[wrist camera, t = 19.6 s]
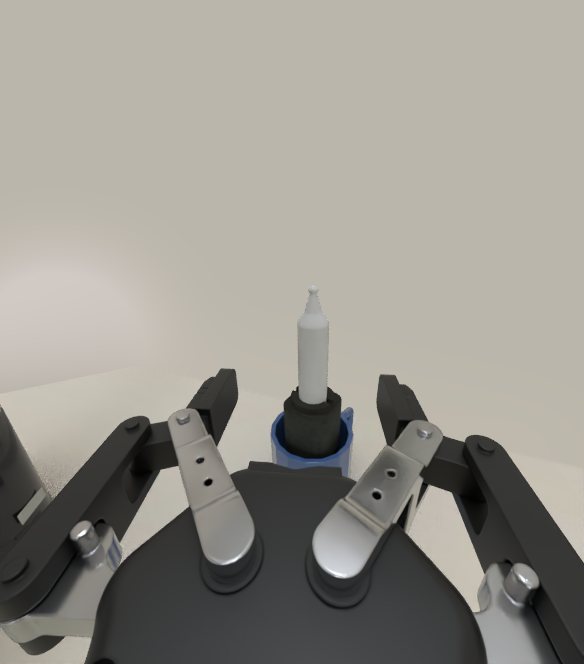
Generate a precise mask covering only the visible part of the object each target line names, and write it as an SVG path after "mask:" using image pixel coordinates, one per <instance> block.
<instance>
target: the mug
mask: <svg viewBox="0 0 584 664" xmlns="http://www.w3.org/2000/svg"><path fill="white" fill-rule="evenodd" d="M352 424H353V409H352V408H351V407H348V408H347V409H346V410H344V411H343V412H342V413H341V418H340V437H339V451H338V452H337V453H336V454H333V455H331V456H328V457H325V458H322V459H305V458H301V457H298V456H295V455H292V454H290V453H289V452H288V451H286V445H285V423H284V412H282V413H281V414H279V415H278V417H277V418H276V419H275V421H274V422H273V424H272V429H271V446H272V460H273V463H274V464H278V465H281V466H284V467H287V468H290V469H302V468H308V467H315V466H326V467H341V468H342V475H343V476H346V477H348V478H350V471H351V459H352V446H353V431H352Z"/></svg>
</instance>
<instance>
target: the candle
mask: <svg viewBox="0 0 584 664" xmlns="http://www.w3.org/2000/svg"><path fill="white" fill-rule="evenodd" d="M317 292H318V288H317V287H316V286H314V285H313V286H311V287H310V288H309V293H310V295H309V298H308V301H307V305H306V308H305V311H304V313H303V314H302V316H301V317H300V319H299V320H298V324H297V327H298V372H299V373H298V376H299V377H298V378H299V386H298V387H297V388H296V391H292V393H291V396H290V397H289V398H287V399H286V400H285V402H284V423H285V445H286V451H288V452H289V453H290V454H292V455H295V456H298V457H301V458H305V459H322V458H325V457H328V456H331V455H333V454H336V453H337V452H338V451H339V437H340V418H341V397H340V396H339V395H338V394H336V393H334V392H333V391H332V390H331V389H330V388H329V387H327V376H328V342H329V341H328V340H329V321H328V320H327V318H326V316H325V315H324V314H323V312H322V310H321V306H320V303H319V300H318V296H317Z"/></svg>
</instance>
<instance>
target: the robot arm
mask: <svg viewBox="0 0 584 664" xmlns="http://www.w3.org/2000/svg"><path fill="white" fill-rule="evenodd" d="M237 400H238V387H237V380H236V371H235V369H220V371H219V373H218V374H217V375H216V377H211V378H209V379H208V380H206V381H205V382H204V383H203V384H202V386H201V387H200V389H199V390H198V392H197V394H195V396H194V397H193V399H192V400H191V402H190V403H189V404H188V406H187V407H186V409H182V410H179V411H177V412H175V413H173V414H172V415H171V416H170V417H169V419H168V421H165V422H160V423H154V424H150V421H149V419H148V418H147V417H145V416H136V417H132V418H129V419H127V420H125V421H124V422H122V423H121V424H120V425H119V426H118V427H117V428H116V429H115V430H114V431H113V432H112V433H111V435H110V436H109V437H108V438H107V439H106V440H105V441H104V443H103V444H102V445H101V446H100V447H99V448H98V449H97V451H96V452H95V453H94V454H93V455H92V456H91V457H90V459H89V460H88V461H87V462H86V463H85V464H84V465H83V466H82V468H81V469H80V470H79V471H78V472H77V473H76V474H75V476H74V477H73V478H72V479H71V480H70V481H69V482H68V484H67V485H66V486H65V487H64V488H63V489H62V490H61V492H60V493H59V494H58V495H57V496H56V497H55V498H54V500H53V498H52V497H51V495H50V494H49V493H48V492H47V490H46V488H45V486H44V484H43V483H42V481H41V478H40V477H39V475H38V473H37V471H36V469H35V467H34V466H33V464H32V462H31V460H30V458H29V456H28V454H27V453H26V451H25V449H24V447H23V445H22V443H21V442H20V440H19V438H18V436H17V434H16V432H15V430H14V429H13V427H12V425H11V423H10V421H9V419H8V418H7V416H6V414H5V412H4V410H3V408H2V407H1V405H0V628H1V629H2V630H3V631H4V632H5V633H6V634H7V635H8V636H9V637H10V639H11V640H12V641H14V642H16V643H18V644H19V645H20V646H21V647H22V648H23V649H24V651H25V652H26V653H28V654H30V655H39V654H42V653H45V652H47V651H48V650H50V649H52V648H53V647H54V646H56V645H57V644H58V643H59V642H60V641H61V640H62V639H63V638H64V637H65V636H72V637H92V640H91V644H90V648H89V651H88V654H87V658H86V660H85V663H84V664H584V563H583V561H582V560H581V558H580V557H579V556H578V554H577V553H576V551H575V550H574V548H573V547H572V546H571V544H570V543H569V541H568V540H567V538H566V537H565V535H564V534H563V533H562V531H561V530H560V528H559V527H558V525H557V524H556V523H555V521H554V520H553V518H552V517H551V515H550V514H549V513H548V511H547V510H546V508H545V507H544V505H543V504H542V502H541V501H540V500H539V498H538V497H537V495H536V494H535V492H534V491H533V490H532V488H531V487H530V485H529V484H528V482H527V481H526V479H525V478H524V477H523V475H522V474H521V472H520V471H519V469H518V468H517V467H516V465H515V464H514V462H513V461H512V459H511V458H510V457H509V455H508V454H507V452H506V451H505V449H504V448H503V447H502V446H501V445H500V444H498V443H497V442H495V441H494V440H492V439H490V438H487V437H484V436H480V435H471V436H469V437H467V438H466V440H465V442H462V441H458V440H455V439H451V438H448V437H445V436H443V434H442V432H441V430H440V429H439V428H438V427H437V426H435V425H434V424H432V423H430V422H428V420H427V418H426V416H425V414H424V412H423V410H422V408H421V406H420V404H419V402H418V400H417V399H416V396H415V394H414V392H413V391H412V390H411V389H410V388H409V387H408V386H406V385H401V384H399V382H398V380H397V378H396V376H395V375H380V377H379V384H378V392H377V410H378V414H379V417H380V421H381V425H382V428H383V432H384V435H385V439H386V442H387V445H386V446H385V447H384V448H383V450H382V451H381V452H380V453H379V455H378V456H377V457H376V459H375V460H374V461H373V462H372V464H371V465H370V466H369V468H368V469H367V470H366V471H365V473H364V474H363V475H362V477H361V478H360V479H359V480H358V482H356V481H354V480H352V479H350V478H348V477H346V476H343V475H342V468H341V467H326V466H315V467H308V468H302V469H290V468H287V467H284V466H281V465H278V464H274V463H269V462H254V461H250V463H249V466H248V469H244V470H240V471H237V472H235V473H233V474H231V475H229V473H228V471H227V468H226V466H225V464H224V462H223V460H222V458H221V455H220V453H219V451H218V449H217V445H218V443H219V441H220V439H221V437H222V434H223V432H224V430H225V428H226V426H227V423H228V421H229V419H230V417H231V414H232V412H233V410H234V408H235V406H236V403H237ZM175 466H179V470H180V473H181V477H182V481H183V484H184V488H185V492H186V495H187V499H188V503H189V507H188V508H187V509H186V510H184V511H183V512H182V513H181V514H179V515H178V516H177V517H176V518H175V519H173V520H172V521H171V522H170V523H168V524H167V525H166V526H165V527H163V528H162V529H161V530H160V531H158V532H157V533H156V534H155V535H153V536H152V537H151V538H150V539H149V540H147V541H146V542H145V543H144V544H142V545H141V546H140V547H139V548H137V549H136V550H135V551H134V552H133V553H131V554H130V555H129V556H128V557H127V558H126V559H125V560H124V561H123V562H122V563H121V565H120V566H119V564H120V561H121V558H122V548H121V546H120V542H121V540H122V538H123V536H124V534H125V533H126V531H127V529H128V527H129V526H130V524H131V522H132V520H133V518H134V517H135V515H136V513H137V511H138V509H139V508H140V506H141V504H142V502H143V501H144V499H145V497H146V495H147V493H148V492H149V490H150V488H151V486H152V484H153V483H154V481H155V479H156V477H157V476H158V474H159V472H160V470H161V469H165V468H170V467H175ZM430 485H432V486H435V487H438V488H441V489H443V490H446V491H449V492H452V494H453V497H454V499H455V502H456V504H457V507H458V509H459V512H460V514H461V517H462V519H463V522H464V524H465V527H466V529H467V532H468V534H469V537H470V539H471V542H472V544H473V547H474V549H475V552H476V554H477V557H478V559H479V562H480V564H481V567H482V569H483V572H484V574H485V576H484V578H483V580H482V582H481V584H480V587H479V589H478V594H477V597H478V603H479V607H480V612H476V613H474V612H472V610H471V609H470V607H469V605H468V604H467V602H466V601H465V599H464V598H463V596H462V595H461V594H460V592H459V591H458V590H457V589H456V588H455V586H454V585H453V584H452V583H451V582H450V581H449V580H448V579H447V578H446V576H445V575H444V574H443V573H442V572H441V571H440V570H439V569H438V568H437V567H436V565H435V564H434V563H433V562H432V561H431V560H430V559H429V558H428V557H427V556H426V554H425V553H424V552H423V551H422V550H421V549H420V548H419V547H418V546H417V545H416V543H415V542H414V541H413V540H412V539H411V538H410V537H409V536H408V533H409V530H410V528H411V525H412V522H413V520H414V517H415V515H416V513H417V511H418V509H419V507H420V505H421V503H422V501H423V499H424V497H425V495H426V493H427V491H428V489H429V487H430ZM118 566H119V567H118Z"/></svg>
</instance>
